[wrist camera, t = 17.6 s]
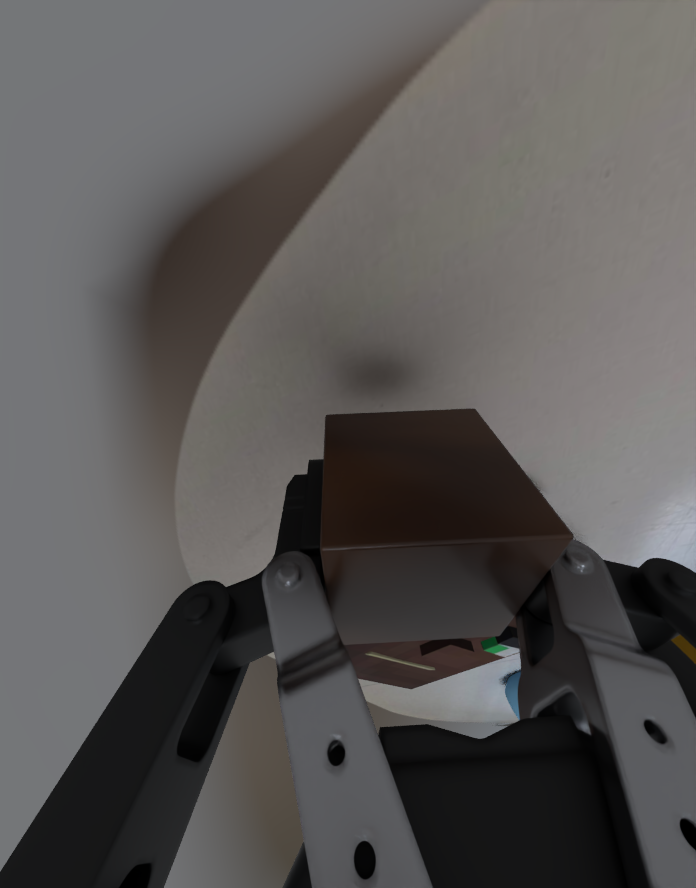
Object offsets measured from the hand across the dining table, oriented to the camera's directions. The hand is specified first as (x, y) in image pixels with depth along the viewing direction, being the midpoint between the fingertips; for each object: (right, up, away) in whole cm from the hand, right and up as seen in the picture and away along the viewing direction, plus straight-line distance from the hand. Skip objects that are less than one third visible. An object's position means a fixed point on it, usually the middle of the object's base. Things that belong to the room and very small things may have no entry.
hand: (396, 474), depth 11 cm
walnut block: (0, 0, 0) cm, 0 cm away
